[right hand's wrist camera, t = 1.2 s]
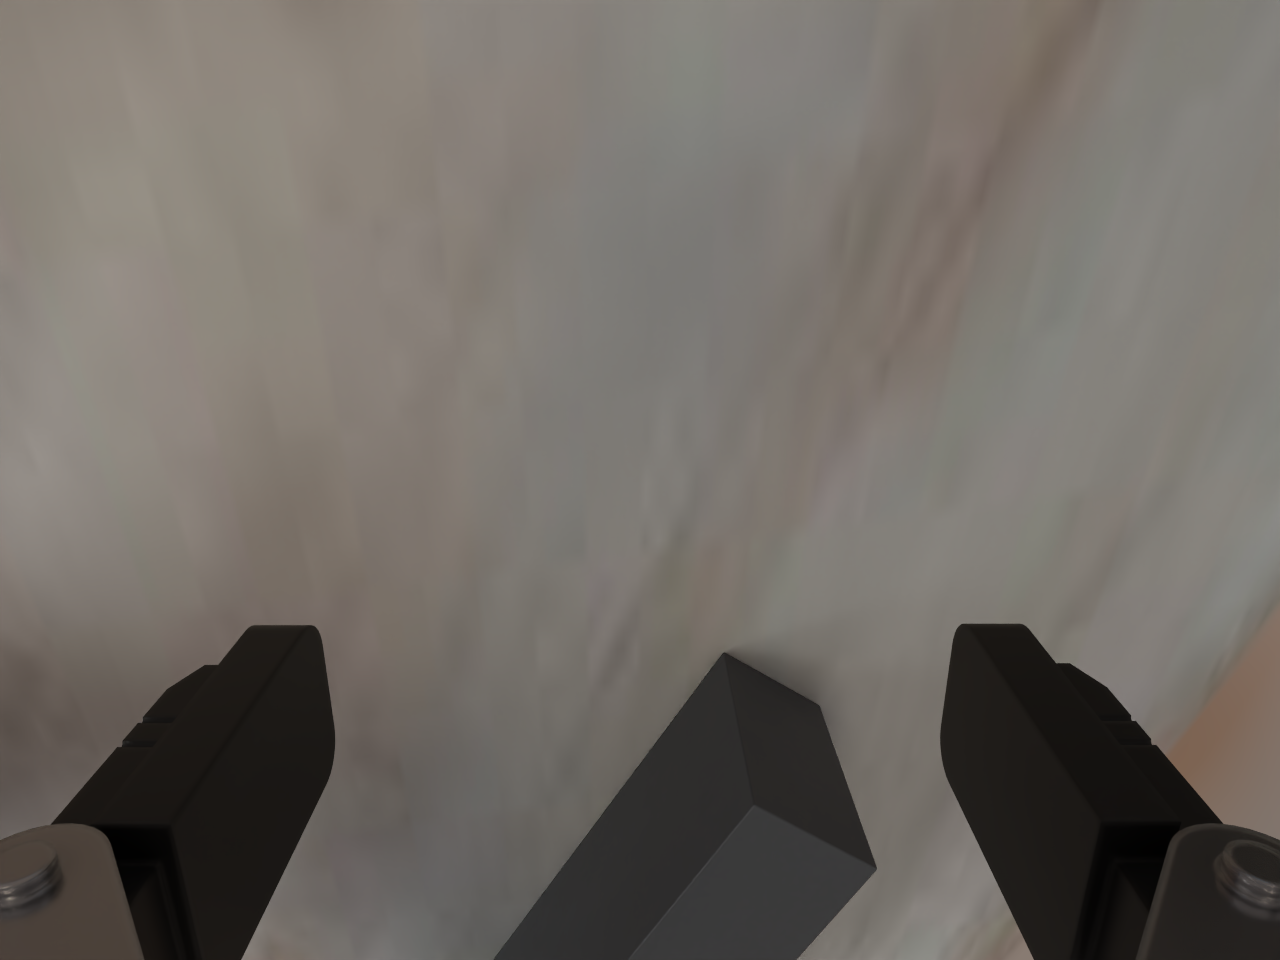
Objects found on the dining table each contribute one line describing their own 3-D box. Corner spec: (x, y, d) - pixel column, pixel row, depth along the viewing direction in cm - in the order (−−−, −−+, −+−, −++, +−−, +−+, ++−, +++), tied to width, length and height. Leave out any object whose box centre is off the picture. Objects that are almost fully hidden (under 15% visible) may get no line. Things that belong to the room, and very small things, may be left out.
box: (723, 651, 45) (754, 804, 34) (820, 705, 46) (878, 869, 35) (482, 973, 52) (445, 1183, 41) (571, 1013, 53) (558, 1227, 42)
